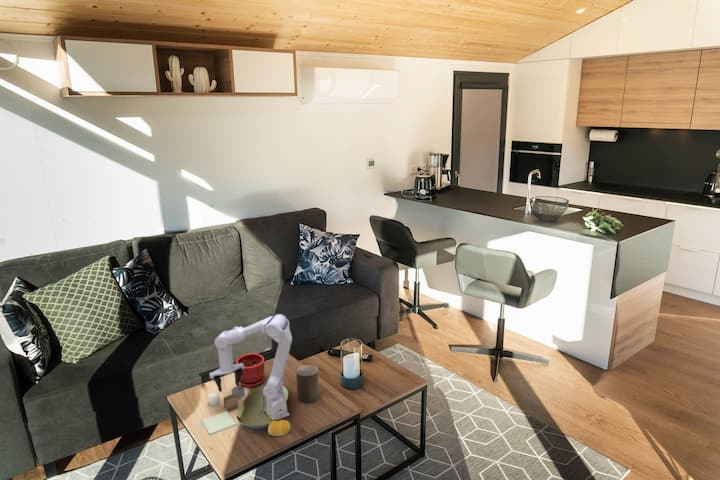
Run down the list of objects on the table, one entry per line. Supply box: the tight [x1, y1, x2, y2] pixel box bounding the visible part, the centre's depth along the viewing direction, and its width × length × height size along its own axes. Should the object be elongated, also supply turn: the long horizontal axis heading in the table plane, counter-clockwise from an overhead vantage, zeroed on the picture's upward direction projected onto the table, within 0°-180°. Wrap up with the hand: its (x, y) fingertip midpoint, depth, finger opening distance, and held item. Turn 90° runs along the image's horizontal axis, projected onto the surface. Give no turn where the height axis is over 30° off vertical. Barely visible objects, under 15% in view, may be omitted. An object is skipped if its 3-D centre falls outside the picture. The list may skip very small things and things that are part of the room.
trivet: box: [201, 410, 237, 436], centre depth 205 cm, size 11×11×1 cm
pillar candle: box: [295, 364, 320, 404], centre depth 220 cm, size 10×10×15 cm
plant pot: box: [235, 353, 266, 388], centre depth 234 cm, size 13×13×12 cm
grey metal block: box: [231, 385, 246, 400], centre depth 223 cm, size 4×4×4 cm
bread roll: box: [267, 419, 292, 437], centre depth 199 cm, size 8×9×4 cm
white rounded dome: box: [206, 390, 221, 408], centre depth 218 cm, size 5×5×5 cm
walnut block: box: [223, 393, 239, 413], centre depth 214 cm, size 4×4×5 cm
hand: (228, 387), depth 213 cm, fingers open, 7 cm apart
